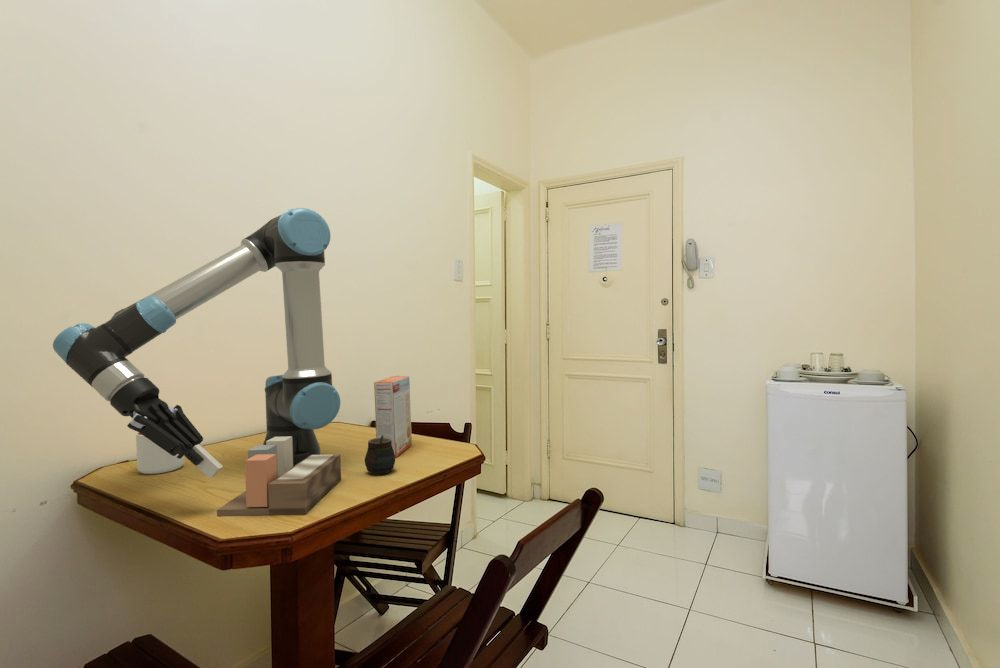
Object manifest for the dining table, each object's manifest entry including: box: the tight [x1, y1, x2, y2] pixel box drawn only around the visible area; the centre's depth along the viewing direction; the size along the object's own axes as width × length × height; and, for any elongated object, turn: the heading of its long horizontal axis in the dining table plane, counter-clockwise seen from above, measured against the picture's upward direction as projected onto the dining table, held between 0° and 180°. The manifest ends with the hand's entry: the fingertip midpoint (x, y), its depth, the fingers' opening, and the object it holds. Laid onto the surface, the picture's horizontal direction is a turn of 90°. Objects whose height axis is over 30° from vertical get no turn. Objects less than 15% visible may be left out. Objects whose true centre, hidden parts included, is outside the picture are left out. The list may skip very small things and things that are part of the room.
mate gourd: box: [364, 435, 396, 476], centre depth 122 cm, size 7×8×10 cm
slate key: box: [247, 444, 278, 478], centre depth 106 cm, size 4×4×9 cm
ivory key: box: [266, 436, 294, 477], centre depth 114 cm, size 4×4×9 cm
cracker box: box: [373, 375, 413, 459], centre depth 142 cm, size 14×6×21 cm, turn 172°
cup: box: [135, 432, 185, 475], centre depth 128 cm, size 10×10×10 cm
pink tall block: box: [244, 454, 277, 507], centre depth 98 cm, size 4×4×9 cm
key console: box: [216, 454, 342, 517], centre depth 106 cm, size 21×17×6 cm
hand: (216, 472), depth 98 cm, fingers closed
